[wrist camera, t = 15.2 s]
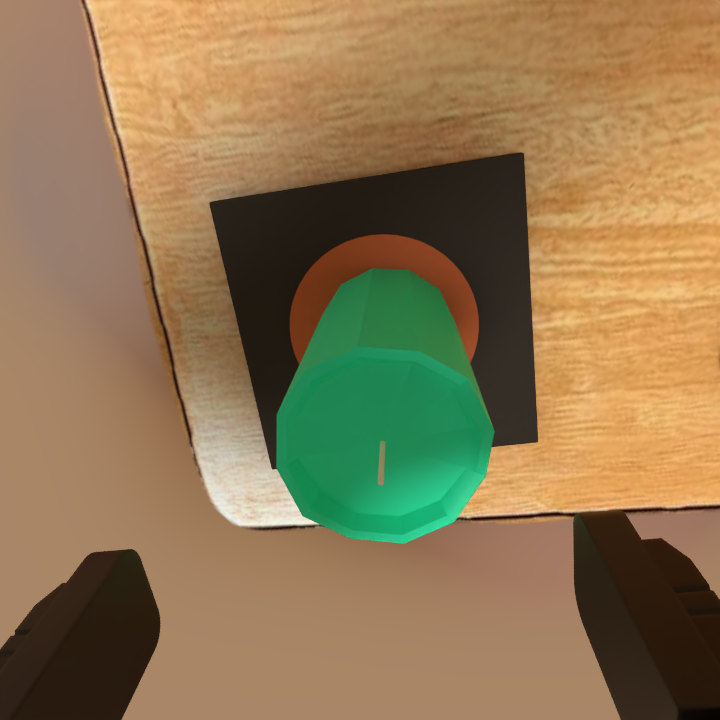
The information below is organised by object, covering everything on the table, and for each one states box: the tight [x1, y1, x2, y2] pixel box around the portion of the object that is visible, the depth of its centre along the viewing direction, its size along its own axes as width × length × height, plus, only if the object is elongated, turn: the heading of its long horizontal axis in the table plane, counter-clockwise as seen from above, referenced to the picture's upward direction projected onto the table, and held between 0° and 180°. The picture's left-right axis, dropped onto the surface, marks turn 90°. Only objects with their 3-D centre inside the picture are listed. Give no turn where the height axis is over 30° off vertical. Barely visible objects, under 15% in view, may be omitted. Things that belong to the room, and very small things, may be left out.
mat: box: [210, 153, 538, 469], centre depth 25 cm, size 13×13×1 cm
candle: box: [276, 268, 495, 543], centre depth 19 cm, size 6×6×12 cm
